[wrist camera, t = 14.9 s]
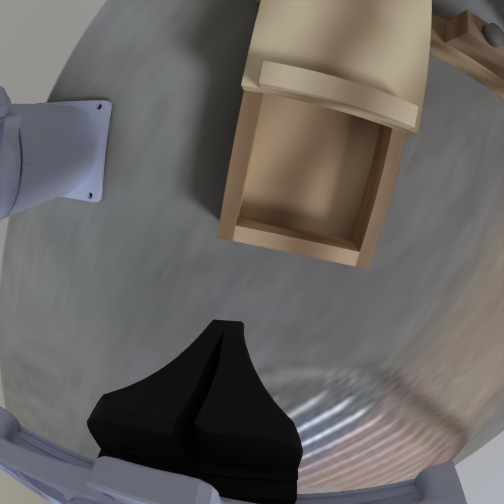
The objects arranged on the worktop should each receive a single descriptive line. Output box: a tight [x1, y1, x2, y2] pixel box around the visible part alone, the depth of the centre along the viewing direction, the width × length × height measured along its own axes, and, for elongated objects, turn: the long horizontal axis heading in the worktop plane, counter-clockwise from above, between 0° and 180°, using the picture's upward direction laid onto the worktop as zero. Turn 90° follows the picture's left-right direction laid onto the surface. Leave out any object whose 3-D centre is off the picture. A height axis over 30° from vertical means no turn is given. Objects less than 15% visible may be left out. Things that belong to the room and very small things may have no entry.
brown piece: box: [217, 0, 504, 269], centre depth 16 cm, size 24×19×3 cm
